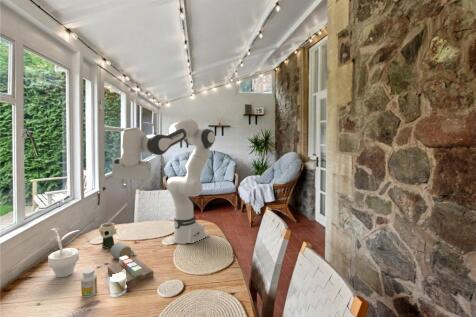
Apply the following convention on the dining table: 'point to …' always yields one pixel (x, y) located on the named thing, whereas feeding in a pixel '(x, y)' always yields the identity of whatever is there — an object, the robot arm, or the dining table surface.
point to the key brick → (126, 263)
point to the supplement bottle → (89, 283)
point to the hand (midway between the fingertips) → (131, 188)
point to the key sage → (136, 271)
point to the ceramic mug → (121, 250)
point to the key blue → (130, 266)
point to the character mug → (107, 234)
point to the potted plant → (63, 257)
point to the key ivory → (122, 259)
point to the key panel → (131, 281)
